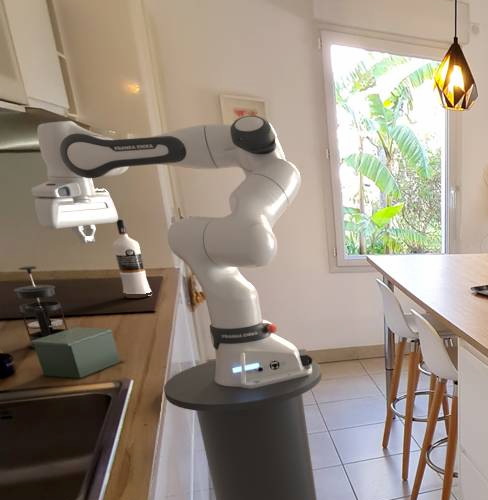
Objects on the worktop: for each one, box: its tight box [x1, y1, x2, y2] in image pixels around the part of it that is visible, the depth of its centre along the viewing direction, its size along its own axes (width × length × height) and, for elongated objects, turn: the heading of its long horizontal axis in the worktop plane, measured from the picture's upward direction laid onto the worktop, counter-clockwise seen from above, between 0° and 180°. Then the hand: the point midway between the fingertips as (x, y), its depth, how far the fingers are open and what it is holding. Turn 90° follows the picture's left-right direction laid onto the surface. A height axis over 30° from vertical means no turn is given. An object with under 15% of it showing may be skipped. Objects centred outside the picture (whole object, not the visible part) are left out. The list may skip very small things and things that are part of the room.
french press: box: [13, 265, 69, 349], centre depth 159 cm, size 12×9×23 cm
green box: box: [34, 331, 121, 379], centre depth 145 cm, size 12×10×9 cm
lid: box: [29, 326, 113, 346], centre depth 143 cm, size 13×10×1 cm
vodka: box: [112, 219, 153, 297], centre depth 214 cm, size 9×9×30 cm
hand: (87, 242), depth 148 cm, fingers closed
